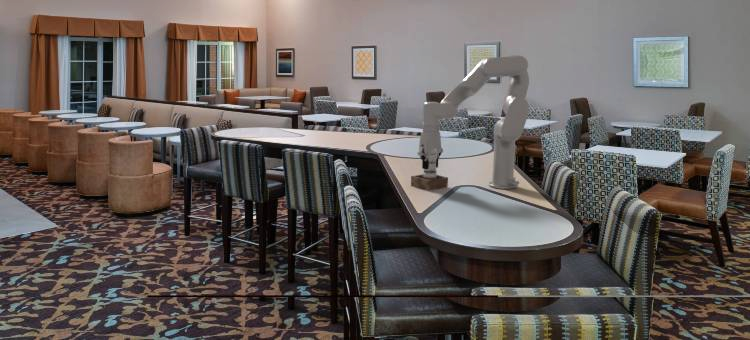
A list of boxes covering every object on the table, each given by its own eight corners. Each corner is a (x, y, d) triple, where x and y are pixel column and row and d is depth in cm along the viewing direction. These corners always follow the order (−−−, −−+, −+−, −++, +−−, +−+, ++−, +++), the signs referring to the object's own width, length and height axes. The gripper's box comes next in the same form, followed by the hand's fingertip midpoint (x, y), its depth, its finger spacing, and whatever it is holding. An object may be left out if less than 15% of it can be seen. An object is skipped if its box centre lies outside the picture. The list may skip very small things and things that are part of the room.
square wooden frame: (447, 187, 265) (447, 177, 264) (428, 190, 258) (428, 180, 257) (429, 182, 275) (430, 173, 274) (410, 185, 267) (411, 176, 266)
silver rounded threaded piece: (424, 180, 270) (424, 138, 266) (438, 181, 268) (439, 139, 264) (421, 183, 264) (421, 140, 260) (435, 184, 262) (436, 141, 258)
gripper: (438, 126, 269) (437, 164, 273) (411, 129, 259) (410, 169, 262) (450, 128, 263) (449, 167, 267) (422, 131, 253) (421, 171, 256)
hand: (430, 167), depth 265 cm, fingers closed on silver rounded threaded piece, 5 cm apart
